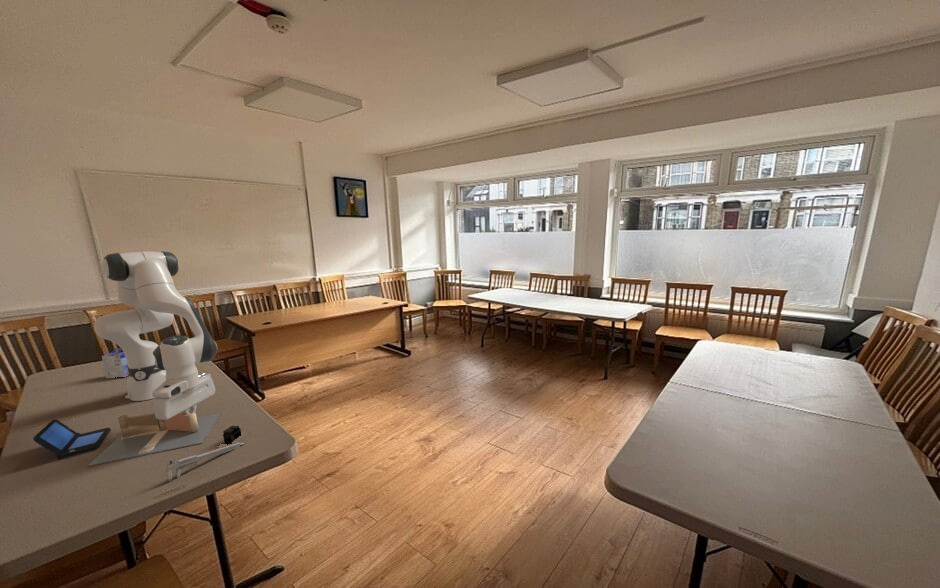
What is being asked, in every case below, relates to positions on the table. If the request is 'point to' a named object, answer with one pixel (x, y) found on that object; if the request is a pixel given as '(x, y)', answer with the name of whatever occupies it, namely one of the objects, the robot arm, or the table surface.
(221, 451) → the caliper
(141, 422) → the fixed fence
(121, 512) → the table surface
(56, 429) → the handheld game console
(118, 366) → the ink cartridge box
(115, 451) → the board
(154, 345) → the robot arm
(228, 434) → the black angular piece
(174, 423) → the fence panel
